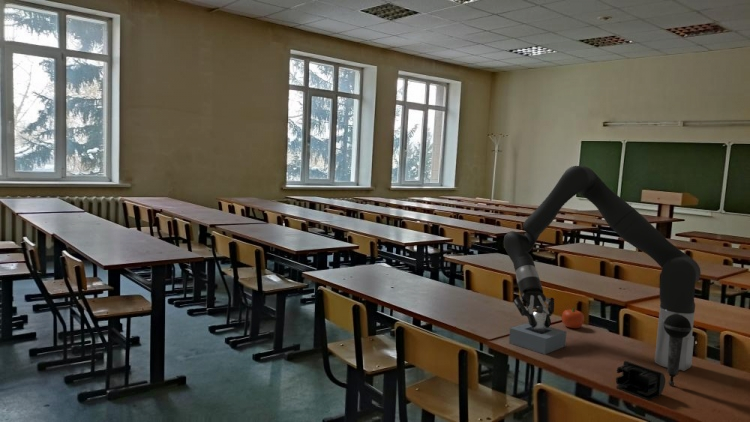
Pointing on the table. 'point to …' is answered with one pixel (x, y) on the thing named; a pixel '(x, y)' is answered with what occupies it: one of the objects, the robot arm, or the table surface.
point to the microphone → (675, 341)
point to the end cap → (640, 381)
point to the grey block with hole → (537, 338)
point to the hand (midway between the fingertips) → (541, 326)
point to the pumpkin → (572, 318)
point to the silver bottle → (539, 320)
